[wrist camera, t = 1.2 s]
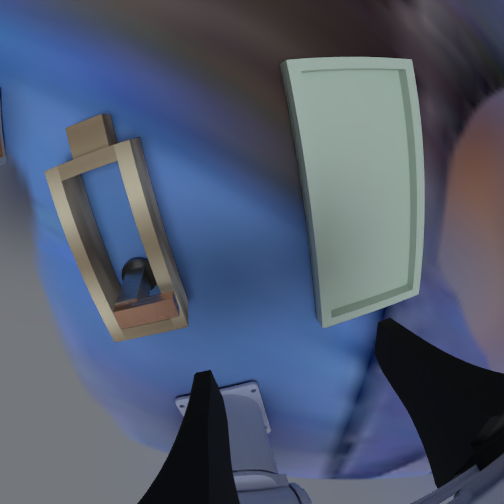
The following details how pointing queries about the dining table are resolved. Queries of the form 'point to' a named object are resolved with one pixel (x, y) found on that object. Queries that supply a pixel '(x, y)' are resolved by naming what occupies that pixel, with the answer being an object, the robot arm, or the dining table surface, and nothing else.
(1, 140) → the skincare box
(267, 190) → the dining table surface
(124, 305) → the rubber stamp
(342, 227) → the tray
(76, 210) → the tan rectangular frame
